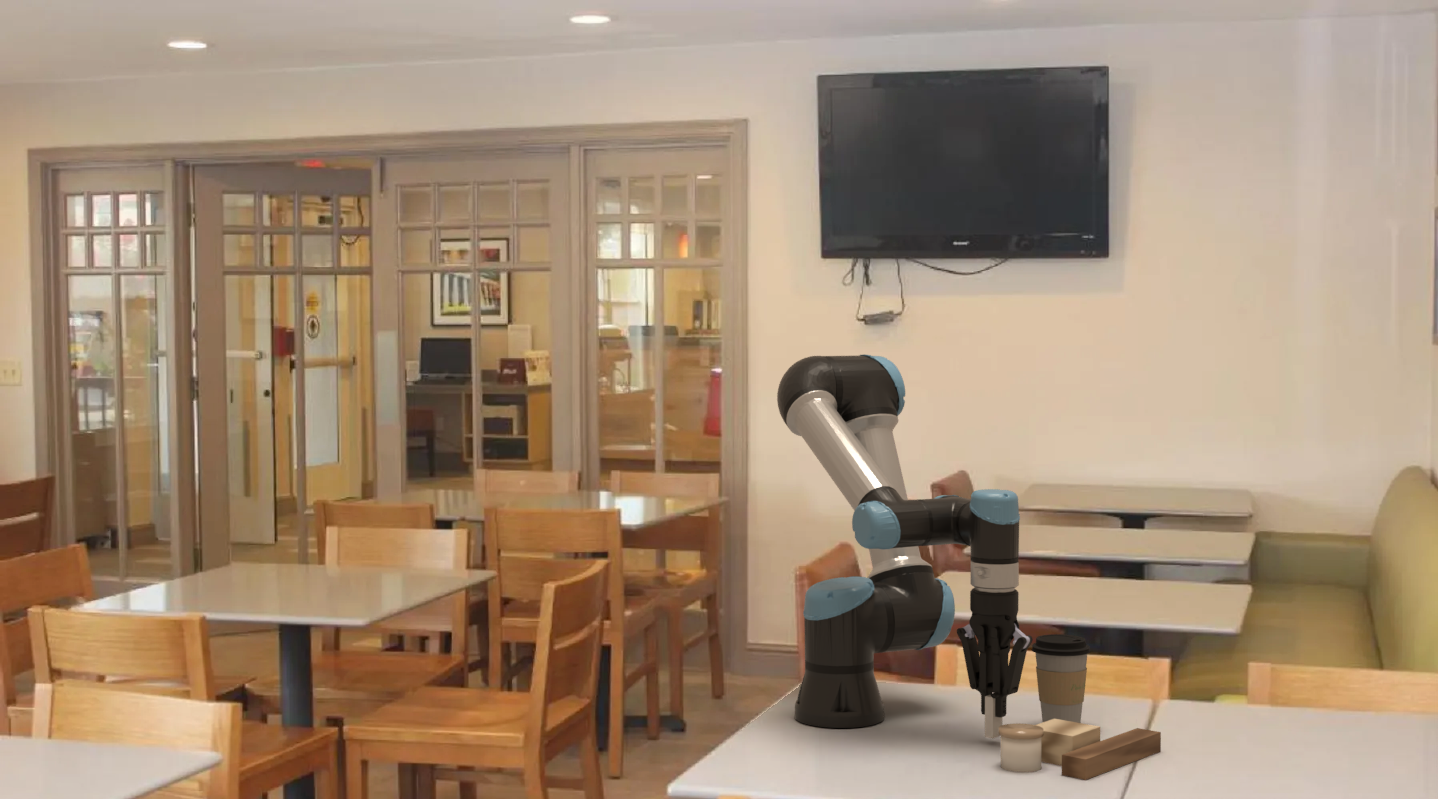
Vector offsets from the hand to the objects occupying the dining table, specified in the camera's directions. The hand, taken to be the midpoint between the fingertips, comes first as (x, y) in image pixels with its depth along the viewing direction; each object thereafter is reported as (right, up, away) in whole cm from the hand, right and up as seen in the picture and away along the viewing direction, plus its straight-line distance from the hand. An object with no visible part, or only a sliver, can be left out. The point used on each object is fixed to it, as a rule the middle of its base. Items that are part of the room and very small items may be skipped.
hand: (993, 736), depth 256 cm
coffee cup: (+12, -1, +9) cm, 15 cm away
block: (+9, -2, -10) cm, 13 cm away
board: (+16, -1, -13) cm, 20 cm away
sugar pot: (+2, -2, -14) cm, 15 cm away
